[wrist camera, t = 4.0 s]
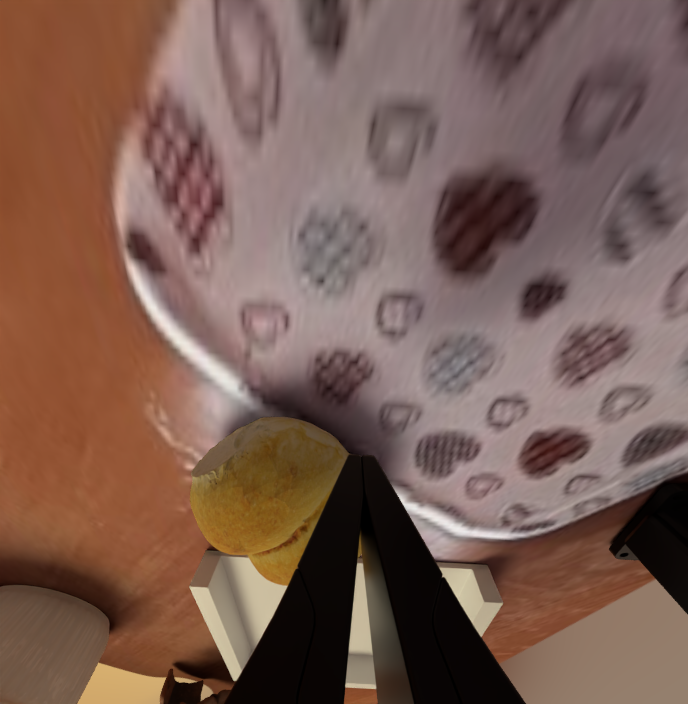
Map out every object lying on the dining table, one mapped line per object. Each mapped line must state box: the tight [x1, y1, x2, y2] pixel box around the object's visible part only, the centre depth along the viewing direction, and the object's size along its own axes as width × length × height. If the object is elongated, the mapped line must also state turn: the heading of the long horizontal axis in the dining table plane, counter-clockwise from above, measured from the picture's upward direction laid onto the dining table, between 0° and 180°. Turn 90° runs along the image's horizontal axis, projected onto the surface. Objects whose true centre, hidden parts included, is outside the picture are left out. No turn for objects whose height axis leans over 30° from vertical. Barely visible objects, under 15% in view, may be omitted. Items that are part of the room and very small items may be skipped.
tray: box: [189, 550, 503, 689], centre depth 20 cm, size 20×18×2 cm
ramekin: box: [0, 585, 110, 704], centre depth 20 cm, size 13×13×7 cm
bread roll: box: [190, 417, 362, 586], centre depth 12 cm, size 8×9×4 cm
